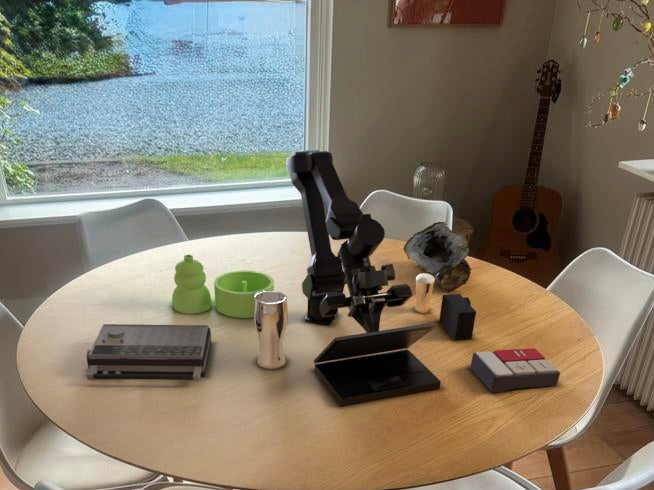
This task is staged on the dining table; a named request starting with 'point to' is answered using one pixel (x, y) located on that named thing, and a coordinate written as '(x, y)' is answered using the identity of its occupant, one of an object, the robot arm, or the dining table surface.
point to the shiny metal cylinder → (423, 292)
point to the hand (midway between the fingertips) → (375, 339)
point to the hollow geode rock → (441, 255)
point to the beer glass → (270, 327)
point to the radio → (150, 352)
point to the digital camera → (457, 316)
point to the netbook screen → (373, 342)
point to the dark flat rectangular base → (376, 377)
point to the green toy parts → (217, 290)
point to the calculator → (514, 369)
